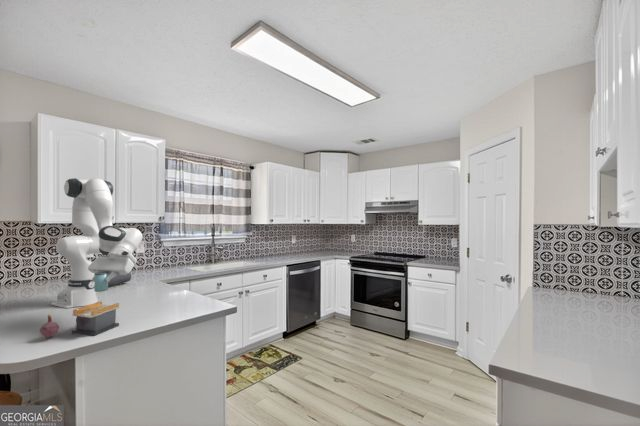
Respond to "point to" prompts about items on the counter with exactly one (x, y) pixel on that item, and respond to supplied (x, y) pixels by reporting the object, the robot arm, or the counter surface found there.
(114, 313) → the block
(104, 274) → the teal glass jar
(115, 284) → the bluetooth speaker
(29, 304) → the counter surface
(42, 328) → the vegetable
